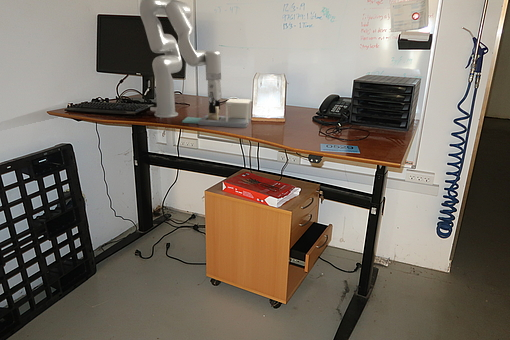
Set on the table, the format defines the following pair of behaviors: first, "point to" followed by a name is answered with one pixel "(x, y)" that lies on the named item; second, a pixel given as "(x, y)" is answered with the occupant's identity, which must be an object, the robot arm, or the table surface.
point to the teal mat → (191, 120)
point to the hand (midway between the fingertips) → (214, 111)
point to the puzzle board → (222, 122)
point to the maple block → (214, 114)
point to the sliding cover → (239, 108)
